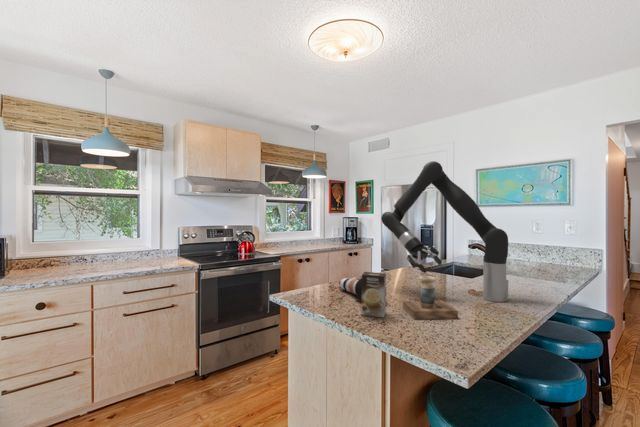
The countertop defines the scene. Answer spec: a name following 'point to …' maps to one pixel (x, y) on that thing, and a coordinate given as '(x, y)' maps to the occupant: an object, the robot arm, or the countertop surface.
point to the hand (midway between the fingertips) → (433, 267)
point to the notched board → (430, 310)
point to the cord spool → (427, 291)
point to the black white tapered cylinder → (352, 286)
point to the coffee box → (373, 294)
